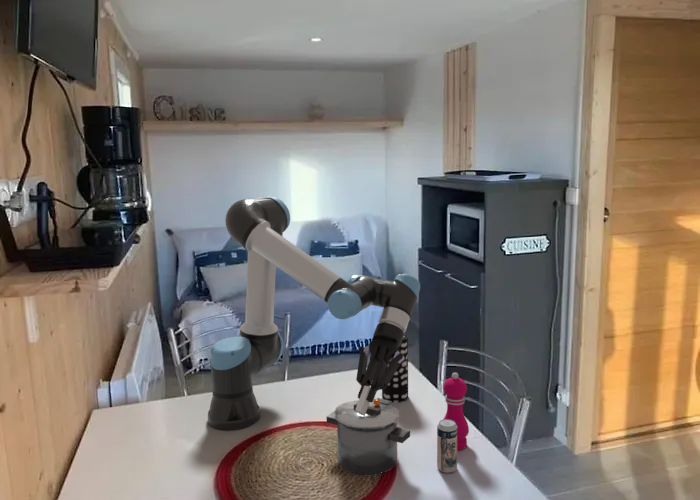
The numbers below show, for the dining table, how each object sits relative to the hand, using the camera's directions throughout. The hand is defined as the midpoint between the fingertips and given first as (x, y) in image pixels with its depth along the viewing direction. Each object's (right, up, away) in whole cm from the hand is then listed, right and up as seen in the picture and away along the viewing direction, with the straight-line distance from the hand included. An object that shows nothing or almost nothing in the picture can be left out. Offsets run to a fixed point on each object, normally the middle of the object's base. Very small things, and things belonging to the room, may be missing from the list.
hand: (360, 412), depth 140 cm
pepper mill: (+25, -12, +12) cm, 31 cm away
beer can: (+21, -14, +1) cm, 26 cm away
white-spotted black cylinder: (+12, -7, +43) cm, 45 cm away
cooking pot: (+2, -13, +6) cm, 15 cm away
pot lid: (+2, -2, +4) cm, 5 cm away
